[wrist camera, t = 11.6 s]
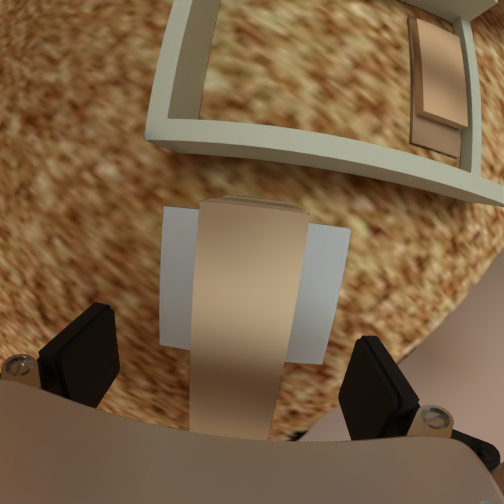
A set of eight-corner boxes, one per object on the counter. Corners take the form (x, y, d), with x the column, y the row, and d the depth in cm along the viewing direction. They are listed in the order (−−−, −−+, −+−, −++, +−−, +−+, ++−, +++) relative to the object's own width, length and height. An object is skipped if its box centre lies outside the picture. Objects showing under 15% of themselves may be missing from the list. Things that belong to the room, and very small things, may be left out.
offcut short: (410, 24, 15) (416, 18, 14) (451, 42, 15) (459, 37, 14) (415, 114, 16) (423, 110, 15) (458, 129, 16) (467, 127, 15)
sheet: (229, 194, 18) (200, 200, 9) (286, 201, 18) (310, 213, 9) (213, 363, 21) (189, 456, 12) (261, 369, 21) (260, 464, 12)
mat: (165, 205, 19) (164, 206, 18) (349, 228, 19) (351, 229, 18) (161, 342, 21) (159, 344, 20) (321, 361, 21) (322, 364, 20)
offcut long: (403, 22, 16) (408, 16, 15) (446, 41, 16) (453, 36, 15) (404, 144, 18) (411, 142, 17) (450, 158, 18) (459, 158, 17)
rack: (217, -38, 14) (206, -84, 9) (459, 20, 14) (495, -6, 8) (178, 153, 18) (143, 139, 12) (465, 201, 18) (518, 209, 12)
